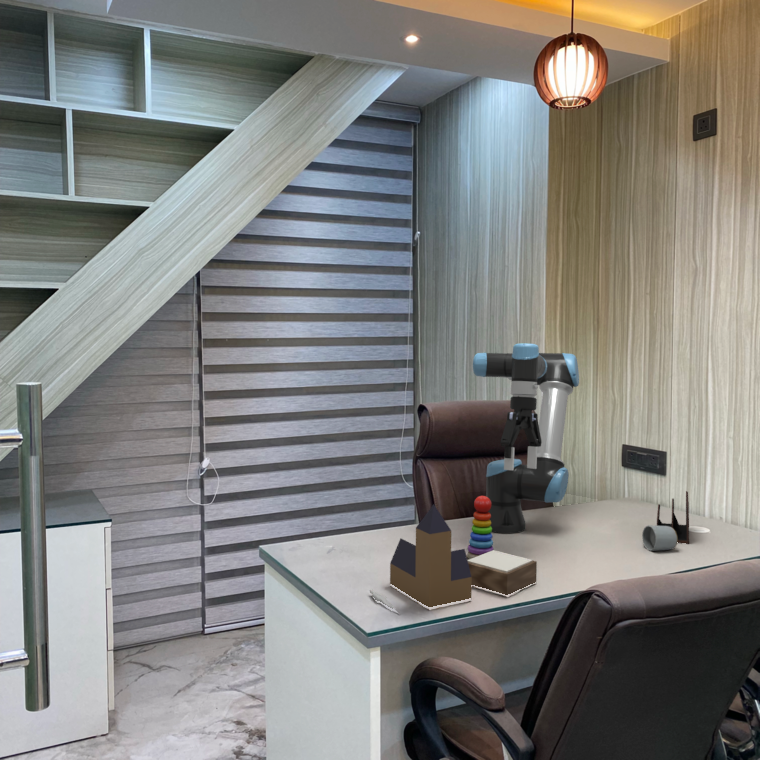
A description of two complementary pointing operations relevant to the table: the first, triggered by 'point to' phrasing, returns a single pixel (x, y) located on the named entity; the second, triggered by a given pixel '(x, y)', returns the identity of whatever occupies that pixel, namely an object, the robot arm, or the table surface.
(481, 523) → the stacking toy
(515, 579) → the base block
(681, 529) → the letter holder
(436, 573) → the toy building blocks
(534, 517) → the table surface
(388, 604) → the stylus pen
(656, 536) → the ceramic mug
